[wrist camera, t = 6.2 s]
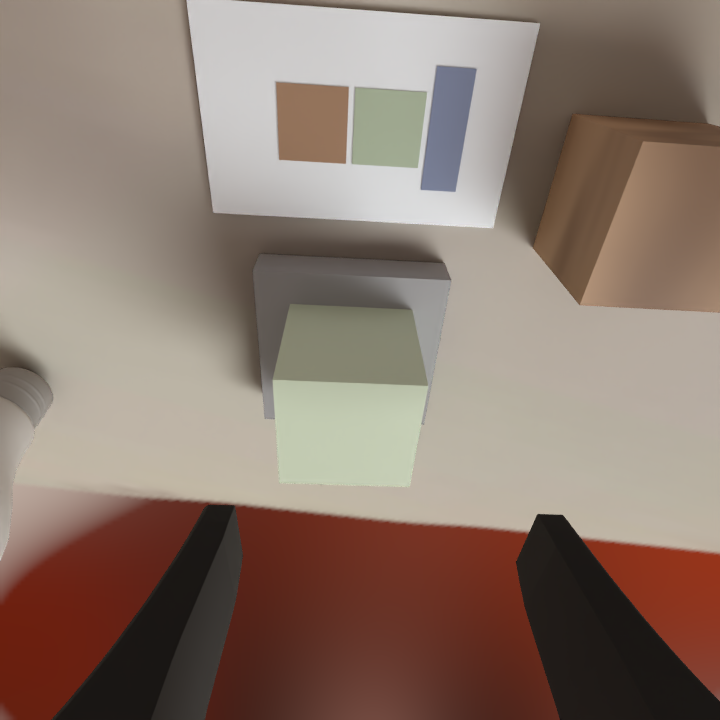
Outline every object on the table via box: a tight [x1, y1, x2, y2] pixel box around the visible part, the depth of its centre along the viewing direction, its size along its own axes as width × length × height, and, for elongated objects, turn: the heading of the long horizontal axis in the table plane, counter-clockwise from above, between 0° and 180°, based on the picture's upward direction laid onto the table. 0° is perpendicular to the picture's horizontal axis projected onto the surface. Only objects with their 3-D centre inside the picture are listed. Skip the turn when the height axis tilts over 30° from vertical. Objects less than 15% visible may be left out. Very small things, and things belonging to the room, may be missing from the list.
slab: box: [253, 254, 451, 425], centre depth 19 cm, size 7×7×2 cm
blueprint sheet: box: [186, 0, 540, 228], centre depth 15 cm, size 10×6×1 cm, turn 87°
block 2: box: [533, 114, 720, 313], centre depth 14 cm, size 4×4×4 cm
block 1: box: [273, 304, 428, 487], centre depth 16 cm, size 4×4×4 cm
